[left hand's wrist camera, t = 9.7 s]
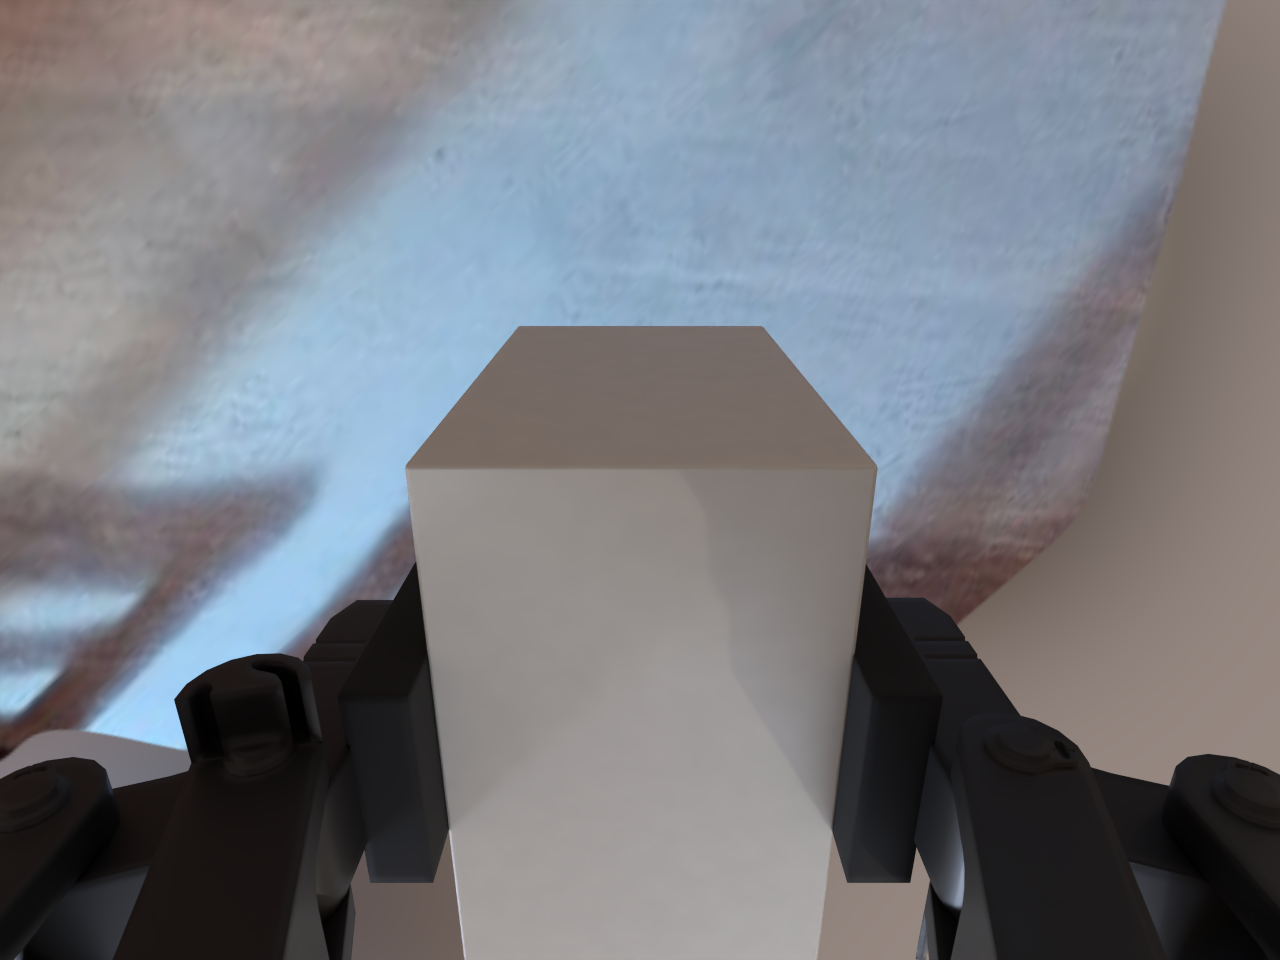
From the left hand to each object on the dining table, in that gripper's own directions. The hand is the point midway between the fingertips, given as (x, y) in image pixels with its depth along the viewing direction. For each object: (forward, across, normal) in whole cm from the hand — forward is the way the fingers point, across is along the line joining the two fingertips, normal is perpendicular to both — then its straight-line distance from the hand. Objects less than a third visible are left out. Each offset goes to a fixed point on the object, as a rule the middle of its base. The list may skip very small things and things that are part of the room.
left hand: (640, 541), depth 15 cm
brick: (+2, 0, 0) cm, 2 cm away
